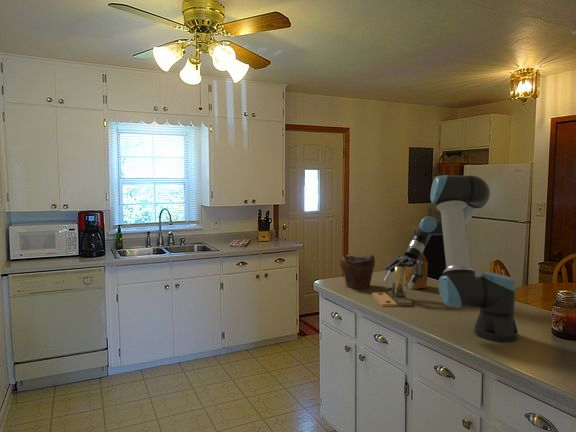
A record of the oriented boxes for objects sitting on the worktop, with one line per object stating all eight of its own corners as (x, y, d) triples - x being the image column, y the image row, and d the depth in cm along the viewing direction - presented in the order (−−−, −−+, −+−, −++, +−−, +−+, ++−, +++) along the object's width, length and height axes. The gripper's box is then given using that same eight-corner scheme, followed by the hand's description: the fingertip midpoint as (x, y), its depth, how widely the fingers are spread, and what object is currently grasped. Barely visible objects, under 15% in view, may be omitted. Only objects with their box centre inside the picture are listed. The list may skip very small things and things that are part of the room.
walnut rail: (411, 306, 199) (412, 291, 198) (395, 306, 198) (395, 291, 198) (399, 294, 219) (399, 281, 218) (384, 294, 218) (384, 281, 218)
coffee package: (418, 283, 242) (419, 245, 240) (429, 289, 230) (430, 249, 228) (401, 284, 240) (403, 246, 239) (412, 290, 228) (413, 249, 226)
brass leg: (405, 296, 206) (406, 268, 205) (390, 296, 206) (391, 268, 205) (401, 293, 212) (402, 265, 211) (387, 293, 212) (388, 265, 211)
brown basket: (333, 283, 240) (334, 252, 238) (362, 280, 248) (363, 250, 247) (350, 292, 224) (351, 258, 222) (381, 288, 232) (382, 256, 230)
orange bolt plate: (397, 306, 198) (397, 303, 198) (382, 306, 198) (382, 303, 198) (385, 294, 218) (385, 292, 218) (372, 294, 218) (372, 292, 218)
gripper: (439, 259, 209) (422, 294, 201) (396, 252, 228) (378, 284, 219) (434, 249, 205) (416, 285, 197) (390, 243, 224) (372, 275, 215)
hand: (396, 284), depth 208 cm, fingers open, 13 cm apart
